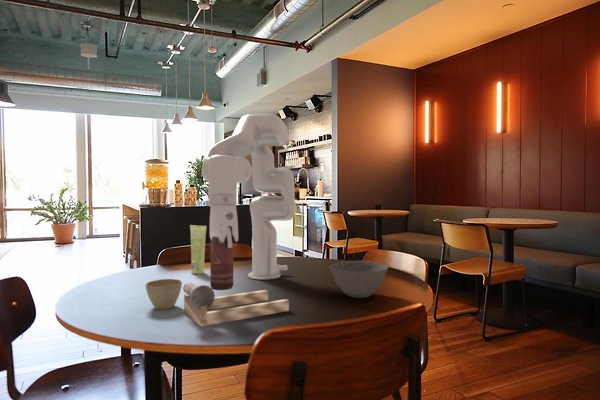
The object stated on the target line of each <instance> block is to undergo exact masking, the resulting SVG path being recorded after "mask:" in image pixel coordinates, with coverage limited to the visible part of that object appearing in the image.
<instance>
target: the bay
mask: <svg viewBox="0 0 600 400" xmlns="http://www.w3.org/2000/svg"><path fill="white" fill-rule="evenodd" d="M182 290H183V292H184V293H185V294H183V297H184V298H183V301H184V302H183V304H184V306H183V307H184V309H183V310H184V311H183V312H184V313H185V314H186V315H187V316H188V317H190V318H191V320H193V321H194V322H195V323H196V324H198V325H199V326H200V327H205V326H212V325H216V324H222V323H229V322H233V321H239V320H245V319H251V318H256V317H261V316H265V315H266V316H267V315H273V314H279V313H284V312H289V310H290V300H289V299H287V298H284V299H278V300H272V301H269V290H267V289H264V290H255V291H250V292H249V291H248V292H242V293H235V294H228V295H220V296H216V295H215V292H214V289H212V288H211V286H210V285H206V284H202V285H198V286H197V285H196V284H194V283H193V282H186V283H185V284H184V285H183V287H182Z"/></svg>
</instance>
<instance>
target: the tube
mask: <svg viewBox="0 0 600 400" xmlns="http://www.w3.org/2000/svg"><path fill="white" fill-rule="evenodd" d="M189 230H190V250H191V251H190V252H191V254H190V255H191V257H190V258H191V263H190V265H191V266H190V267H191V274H194V275H200V274H201V275H202V274H203V273H204V272H205V253H206V252H205V251H206V239H207V238H206V235H207V225H195V224H194V225H193V224H190V225H189Z"/></svg>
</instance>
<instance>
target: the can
mask: <svg viewBox="0 0 600 400" xmlns="http://www.w3.org/2000/svg"><path fill="white" fill-rule="evenodd" d="M231 238H232V237H231ZM224 240H225V241H224V243H220V242H219V239H218V238H213V237H212V239H210V285H209V287H210V288H211V289H212V290H213V291H214V290H215V291H227V290H231V289H233V287H234V242H233V240H232V248H230V249H225V244H226V239H224Z"/></svg>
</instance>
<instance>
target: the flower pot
mask: <svg viewBox="0 0 600 400" xmlns="http://www.w3.org/2000/svg"><path fill="white" fill-rule="evenodd" d="M182 285H183V281H182V280H181V279H178V278H177V279H176V278H163V279H156V280H155V279H154V280H151V281H148V282H146V283H145V289H146V293H147V296H148V299H149V301H150V303H151V305H152V306H153V307H154V308H155V309H156V310H168V309H173V308H174V306H175V304H176V303H177V300H178V299H179V296H180V294H181V290H182Z"/></svg>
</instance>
